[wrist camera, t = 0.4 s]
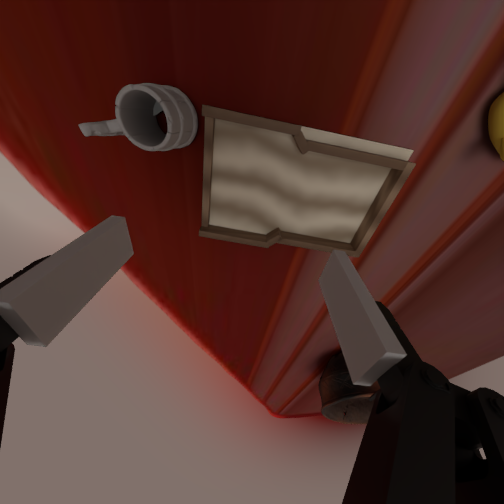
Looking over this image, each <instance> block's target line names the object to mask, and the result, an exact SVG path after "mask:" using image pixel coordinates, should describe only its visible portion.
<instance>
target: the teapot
mask: <svg viewBox="0 0 504 504" xmlns="http://www.w3.org/2000/svg"><path fill="white" fill-rule="evenodd" d="M488 131H489V137H490V140H491V142H492V144H493V146H494V147H495V149H496V150H497V152H498V153H499V154H500V158H501V159H502V161H504V92H503V93H502V94H501V95H499V96H498V97H497V98H496V99H495V100H494V102H493V103H492V105H491V107H490V110H489V115H488Z"/></svg>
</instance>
